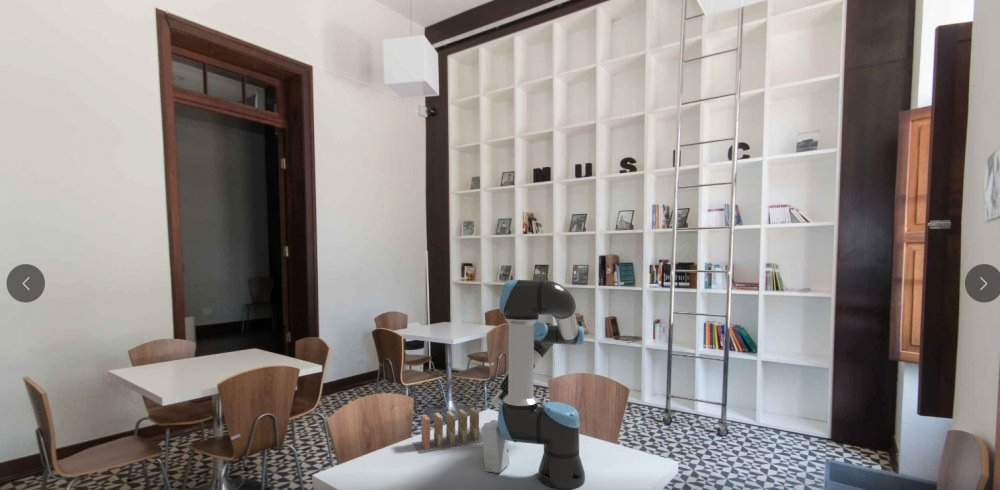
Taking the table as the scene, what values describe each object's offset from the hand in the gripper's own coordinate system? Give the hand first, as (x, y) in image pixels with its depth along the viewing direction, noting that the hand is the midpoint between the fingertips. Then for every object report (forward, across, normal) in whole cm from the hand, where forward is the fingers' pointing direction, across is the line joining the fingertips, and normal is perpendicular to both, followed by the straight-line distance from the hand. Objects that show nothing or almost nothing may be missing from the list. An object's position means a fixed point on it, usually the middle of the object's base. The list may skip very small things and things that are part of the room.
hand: (493, 404), depth 183 cm
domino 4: (+18, -1, +2) cm, 18 cm away
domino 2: (+25, -1, +9) cm, 27 cm away
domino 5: (+15, -1, -2) cm, 15 cm away
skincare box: (+16, -28, -1) cm, 33 cm away
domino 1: (+29, -1, +12) cm, 31 cm away
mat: (+22, -1, +5) cm, 23 cm away
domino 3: (+22, -1, +5) cm, 22 cm away
